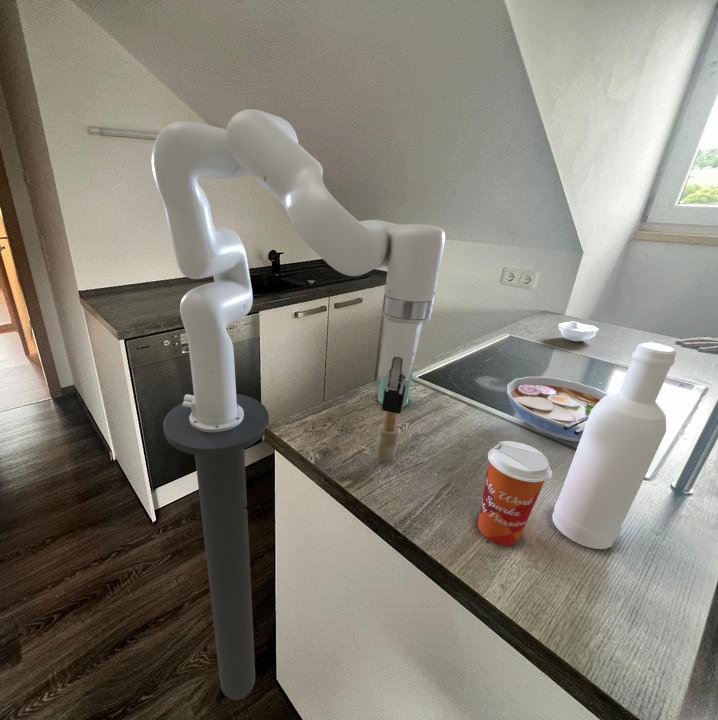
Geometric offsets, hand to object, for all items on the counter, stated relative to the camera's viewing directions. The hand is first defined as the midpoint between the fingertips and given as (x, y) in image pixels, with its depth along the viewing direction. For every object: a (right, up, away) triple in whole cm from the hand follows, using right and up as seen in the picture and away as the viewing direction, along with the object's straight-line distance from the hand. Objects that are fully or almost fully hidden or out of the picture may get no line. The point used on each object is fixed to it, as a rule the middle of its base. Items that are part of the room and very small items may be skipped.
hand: (392, 406), depth 69 cm
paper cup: (+14, -18, -10) cm, 24 cm away
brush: (0, -10, +4) cm, 11 cm away
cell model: (+82, +15, +67) cm, 107 cm away
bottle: (+27, -18, -9) cm, 33 cm away
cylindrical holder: (+7, -2, +27) cm, 28 cm away
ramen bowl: (+40, -7, +15) cm, 43 cm away
